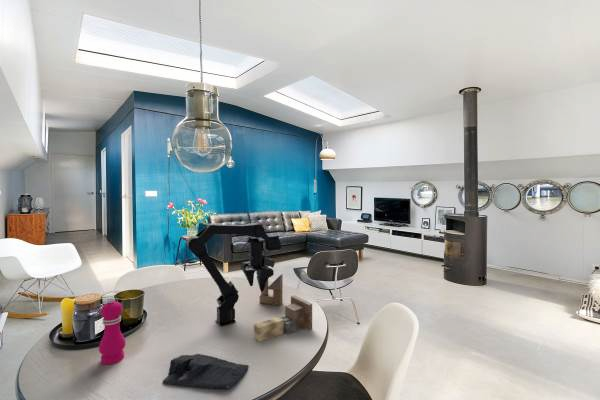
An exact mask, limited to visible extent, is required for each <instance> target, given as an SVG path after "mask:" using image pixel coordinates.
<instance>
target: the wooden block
mask: <svg viewBox="0 0 600 400" xmlns="http://www.w3.org/2000/svg"><path fill="white" fill-rule="evenodd" d="M266 267H269V266H266ZM262 268H265V267H262ZM283 285H284V284H283V274H282V273H281V274H280V275H279V276H278V277H276V279H274V281H272V282H271V284H269V278H268V279H267V282H266V285H265V288H264V291H262V292H261V291H260V295H259V303H260V304H266V305H274V306H281V305H282V304H283V301H284V299H283V295H284V294H283ZM269 290H270V291H272V293H273V294H269Z"/></svg>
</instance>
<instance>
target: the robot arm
mask: <svg viewBox="0 0 600 400" xmlns="http://www.w3.org/2000/svg"><path fill="white" fill-rule="evenodd" d="M215 235H242V236H248V237H247V238H246V239H245V240H244V242H245V244H249V254H247V258H249V260H248V261H243V262H241V264H240V270H242V272H243V274H244V276H245V278H246V280H247V281H248V284H249V286H250V287H253V285H254V278H255V273H256V280H257V284H258V287H259V290H260V293H261V292H262V291H264V288H265V285H266V282H267V279H268V280H269V279H270V278H272V277H273V276H274V274H275V273H274V269H273V268H274V267H275V264H276V260H274V259H271V258H269V256H268V255H265V254H264V250H265V251H266V252H278V251H279V252H280V250H281V248H282V244H281V239H280V236H279V235H278V234H277V235H276V234H275V235H268V234H267V233H266V231H265V227H264V226H263V225H262V224H261V223H258V222H252V223H251V222H250V223H246V224H215V223H209V224H207V226H205V227H204V228H203V229H201V230H200V231H199V232H197V233H196V234H195V235H191V236H190V237H188V239H187V241H186V244H187V245H186V246H187V247H188V250H189V251H190V252H191V253H192V254H193V255H194V256H195V257H197V259H199V261H200V262H201V263H202V265H203V267H204V268H205V269H206V270H207V272H208V273H209V275H210V277H211V278H212V280H213V281H214V282H215V284H216V285H217V287H218V290H219V292H220V295H219V296H218V298H217V299H216V302H217V304H218V306H217V307H216V318H215V319H214V320H215V322H216V323H217V324H218V325H219V326H220V327H223V326H226V325H229V324H234V323H236V321H237V320H236V309H235V305H236V303H238V301H239V297H240V296H239V290H238V288H236V286H235V284H234V283H233V281H231V280H230V281H229V282H228V281H227V280H226V279H225V278H224V276H223V275H222V274H221V271H220V270H219V269H218V267H217V266H216V264H215V263H214V261H213V260H212V258H211V257H210V256H209V253H208V251H207V248H206V246H205V245H206V244H207V243H208V242H209V240H211V238H212V237H213V236H215ZM259 238H260V239H259ZM266 266H268V267H266ZM262 267H265V268H262Z"/></svg>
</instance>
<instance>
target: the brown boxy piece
mask: <svg viewBox="0 0 600 400" xmlns="http://www.w3.org/2000/svg"><path fill="white" fill-rule="evenodd" d="M279 317H280V318H282V319H284V318H288V319H290V321H288V322H285V331H284V333H285V334H286V335H290V334H292V333H295V332H296V331H298V330H301V329H306V330H308V331H311V330H313V303H311V302H309V301H308V300H305V299H303V298H301V297H298V296H296V295H290V304H287V305H285V306H284V315H281V316H279Z"/></svg>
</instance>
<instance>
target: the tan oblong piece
mask: <svg viewBox="0 0 600 400" xmlns="http://www.w3.org/2000/svg"><path fill="white" fill-rule="evenodd" d="M288 321H290V319H288V318H284V319H282V318H280V316H277V317H274V318H271V319H267V320H264V321H261V322H258V323H254V324H253V338H254V339H255V341H258V342H261V341H264V340H265V341H266V340H267V339H271V338H274V337H275V336H276V337H277V336H278V335H281V334H284V333H285V322H288Z"/></svg>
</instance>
